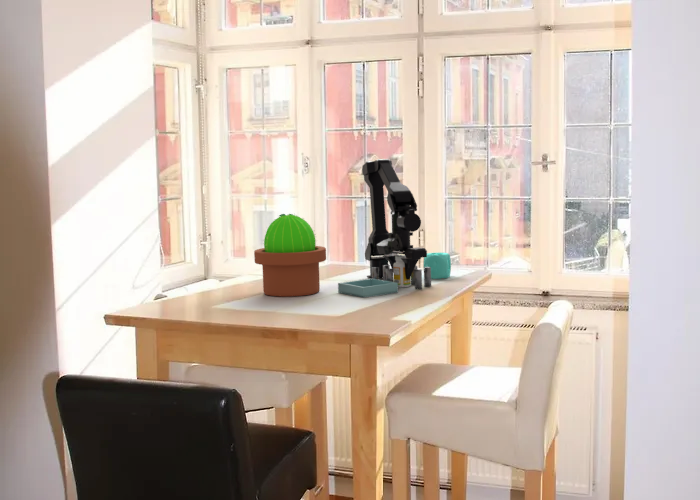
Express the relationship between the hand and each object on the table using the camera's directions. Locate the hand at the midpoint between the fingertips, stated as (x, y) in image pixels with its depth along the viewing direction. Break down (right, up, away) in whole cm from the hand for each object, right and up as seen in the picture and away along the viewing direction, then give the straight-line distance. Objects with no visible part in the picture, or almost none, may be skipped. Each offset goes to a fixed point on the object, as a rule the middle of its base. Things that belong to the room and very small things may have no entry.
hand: (402, 278), depth 283 cm
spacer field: (0, -3, 0) cm, 2 cm away
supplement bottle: (0, -3, 0) cm, 3 cm away
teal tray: (-11, -4, -11) cm, 16 cm away
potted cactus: (-35, -5, -6) cm, 35 cm away
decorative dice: (+13, 0, +18) cm, 22 cm away
